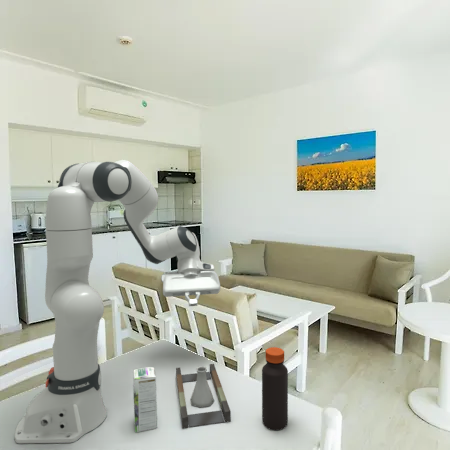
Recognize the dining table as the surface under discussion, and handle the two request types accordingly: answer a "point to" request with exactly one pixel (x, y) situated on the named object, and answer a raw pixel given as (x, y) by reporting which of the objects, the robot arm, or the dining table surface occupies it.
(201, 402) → the flask
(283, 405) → the bottle
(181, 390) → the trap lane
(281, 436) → the dining table surface
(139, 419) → the syrup box
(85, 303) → the robot arm
